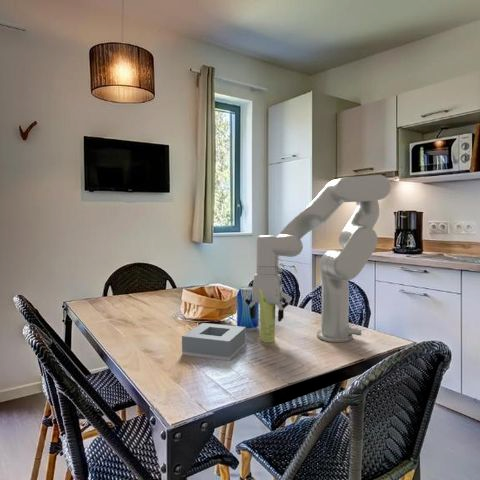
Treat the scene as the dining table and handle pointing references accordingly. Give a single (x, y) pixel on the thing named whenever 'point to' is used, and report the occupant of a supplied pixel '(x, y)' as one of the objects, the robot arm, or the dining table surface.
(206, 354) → the well
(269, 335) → the tube
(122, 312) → the dining table surface
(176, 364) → the dining table surface
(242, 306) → the beer can
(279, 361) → the dining table surface
